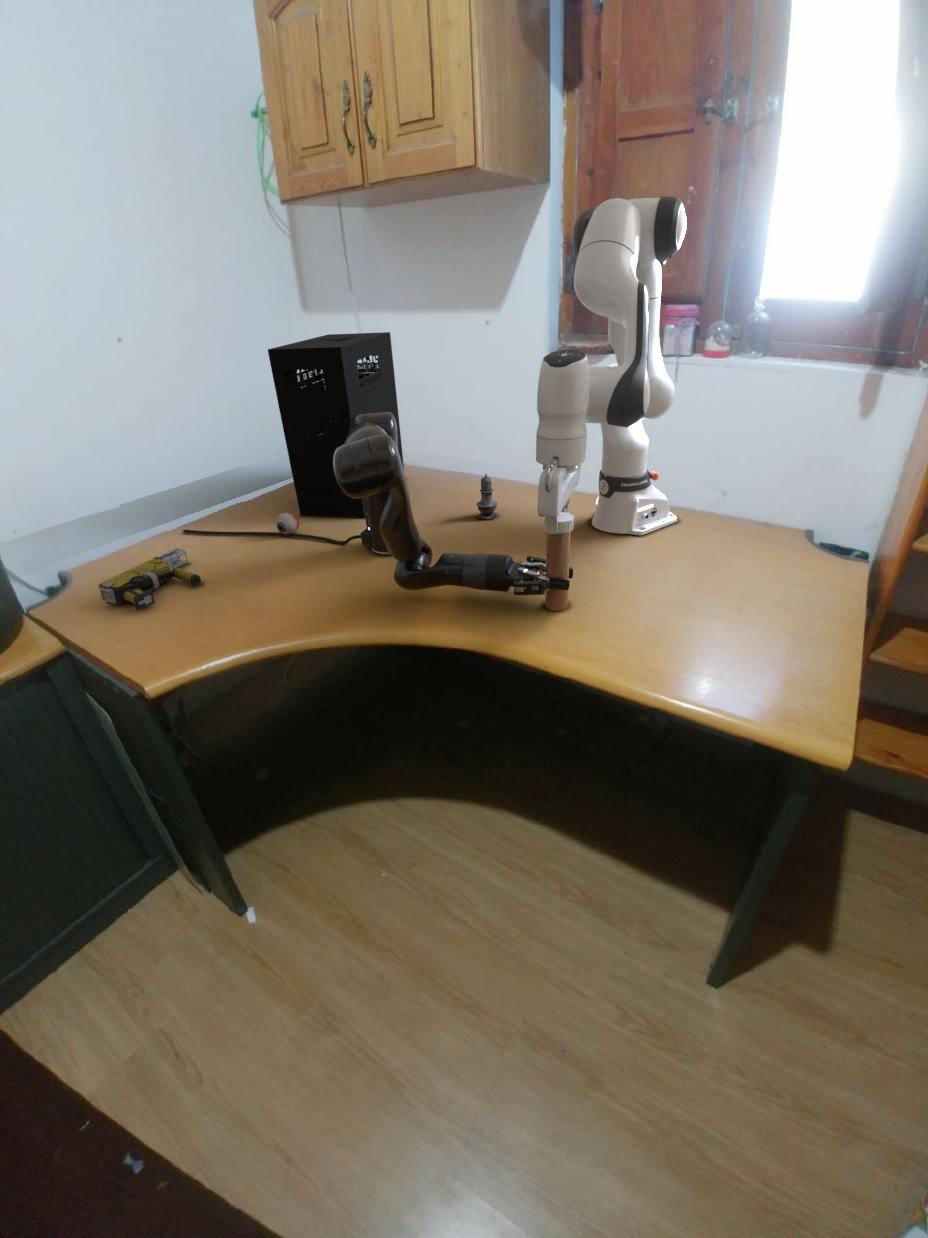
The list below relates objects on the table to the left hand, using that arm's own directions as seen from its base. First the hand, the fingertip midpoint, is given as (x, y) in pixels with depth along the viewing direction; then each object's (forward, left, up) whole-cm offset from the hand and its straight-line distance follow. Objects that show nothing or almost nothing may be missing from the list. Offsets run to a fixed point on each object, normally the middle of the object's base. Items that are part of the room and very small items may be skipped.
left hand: (570, 578), depth 119 cm
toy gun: (-80, -47, -6) cm, 93 cm away
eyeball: (-83, -11, -6) cm, 84 cm away
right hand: (-3, -1, +11) cm, 12 cm away
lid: (-2, -1, +12) cm, 13 cm away
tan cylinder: (-2, -1, -6) cm, 7 cm away
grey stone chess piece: (-47, +30, -6) cm, 56 cm away
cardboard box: (-94, +21, -6) cm, 96 cm away
